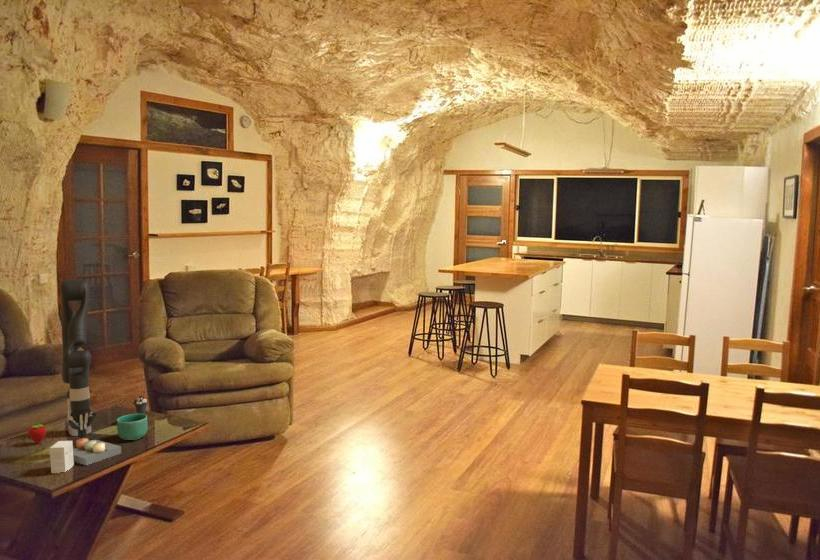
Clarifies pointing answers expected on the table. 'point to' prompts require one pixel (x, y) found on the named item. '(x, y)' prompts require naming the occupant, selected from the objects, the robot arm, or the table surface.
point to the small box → (61, 456)
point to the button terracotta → (81, 443)
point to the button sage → (89, 445)
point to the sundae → (140, 404)
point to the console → (90, 457)
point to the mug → (132, 426)
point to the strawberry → (37, 433)
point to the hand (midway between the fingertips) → (82, 437)
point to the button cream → (98, 448)
